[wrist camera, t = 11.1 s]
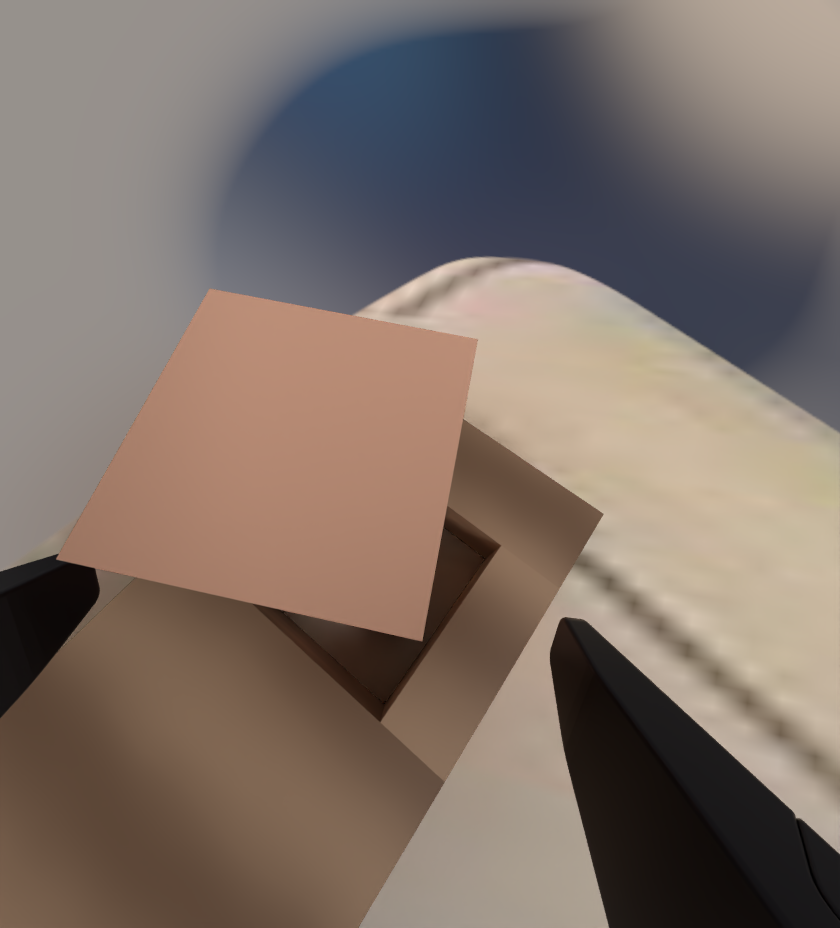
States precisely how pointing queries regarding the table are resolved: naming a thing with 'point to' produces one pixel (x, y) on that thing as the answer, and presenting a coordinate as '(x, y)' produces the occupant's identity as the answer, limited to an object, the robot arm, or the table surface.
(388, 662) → the table surface
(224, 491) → the terracotta peg block
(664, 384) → the table surface
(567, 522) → the wooden peg hole board
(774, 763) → the table surface
